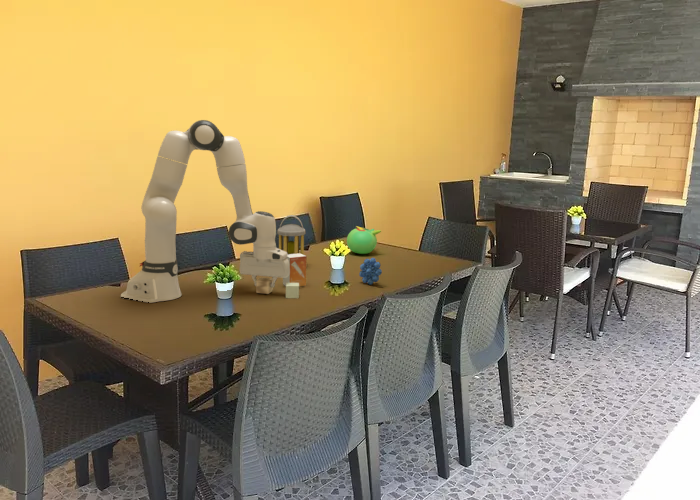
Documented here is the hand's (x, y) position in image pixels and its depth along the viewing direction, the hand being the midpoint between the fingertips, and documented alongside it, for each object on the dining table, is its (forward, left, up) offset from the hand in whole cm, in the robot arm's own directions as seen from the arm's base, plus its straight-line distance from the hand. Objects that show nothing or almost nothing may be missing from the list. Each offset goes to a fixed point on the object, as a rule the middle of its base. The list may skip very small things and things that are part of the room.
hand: (264, 286), depth 231 cm
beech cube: (0, 0, -2) cm, 2 cm away
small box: (+8, +14, -3) cm, 17 cm away
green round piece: (+24, +86, -3) cm, 90 cm away
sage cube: (+12, -2, -3) cm, 13 cm away
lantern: (-3, +45, -3) cm, 45 cm away
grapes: (+39, +25, -3) cm, 47 cm away
